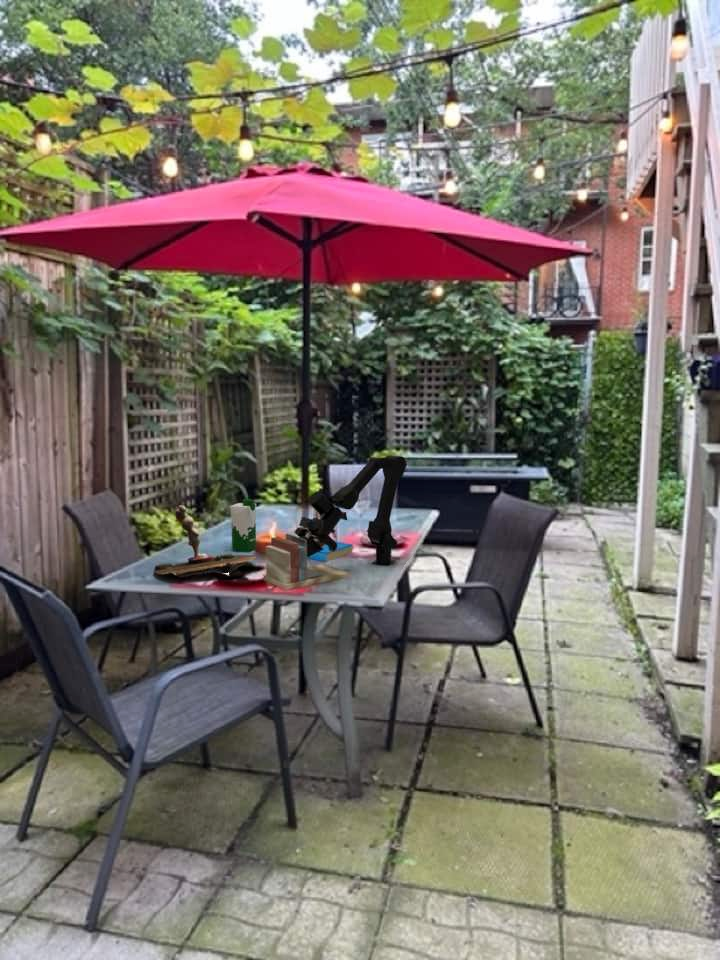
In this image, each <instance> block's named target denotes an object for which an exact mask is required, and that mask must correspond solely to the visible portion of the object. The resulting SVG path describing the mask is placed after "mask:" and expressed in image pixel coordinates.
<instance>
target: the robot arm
mask: <svg viewBox="0 0 720 960" xmlns="http://www.w3.org/2000/svg"><path fill="white" fill-rule="evenodd" d="M407 463H408V462H407V461H406V458H405V457H403V456H401V455H392V454H391V455H390V454H388V455H386V457H375V456H373V457H370V458H369V459H368V462H367V463H366V464H365V465H364V466H363V467H362V469H360V471H359V472H358V473H357V474H356V475H355V477H354V478H352V480H351V481H350V482H349V483H348V484H347V485H344V486H342V487H341V488H339V489H338V490H337V491H336V492H335V493H334V494H333V495H329V494H328V493H327V491H326V490H325V489H324V488H319V489H318V491H315V492H314V493H312V494H311V495H310V496H309V497H308V499H307V503H308V504H309V505H310V506H311V507H312V508H313V509H314V510H315V512H317V514H319V515H322V516H321V517H320V518H317V517H313V518H308V517H306V516H301V518H300V521H299V524H298V525H299V527H297V528H296V529H295V530H294V533H295V536H297V537H300V538H303V539H306V540H307V559H308V557H310V556H311V555H313V554H315V553H317V552H319V551H321V550H322V551H323V550H324V549H323V547H324V545H327V546H328V547H329V550H330V551H332V552H335V550H336V549H337V543H336V542H337V541H336V542H335V540H334V539H333V538H332V537H331V536H330V534H334V533H336V530H335V528H336V527H337V525H338V524H339V522H340V521H341V520H343V521H348V516H347V512H346V511H342V509H343V510H347V511H348V510H352V509H353V508H354V507H355V505H356V504H357V502H358V501H359V498H360V494H361V492H362V491H363V490H364V489H365V487H366V486H367V485H368V484H369V483H370V481H372V479H373V478H374V477H375V476H376V475H377V474H378V472H380V470H381V469H382V473H383V477H384V479H383V485H382V489H381V493H380V498H379V503H378V507H377V512H376V516H375V518H374V519H373V520H369V522H368V527H367V530H366V532H367V538H368V539H369V541H370V543H371V544H370V545H372V546H375V560H374V561H372V563H371V564H373V565H383V566H390V565H391V564H393V563H394V562H395V559H392V550H393V549H395V548H397V544H398V541H397V540H396V539H395V538H394V537H393V536H392V531H393V529H392V525H391V521H390V520H391V515H392V512H393V506H394V501H395V497H396V492H397V488H398V483H399V481H400V479H401V478H402V477H403V476H404V474H405V471H406V469H407V465H408V464H407Z"/></svg>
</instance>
